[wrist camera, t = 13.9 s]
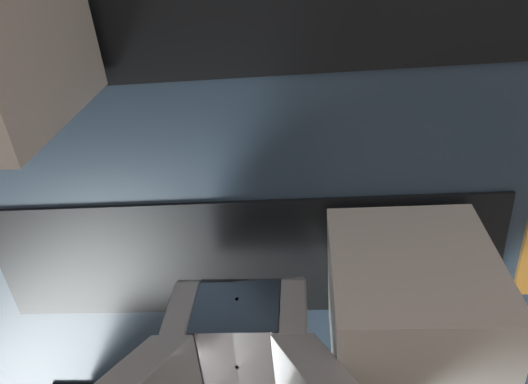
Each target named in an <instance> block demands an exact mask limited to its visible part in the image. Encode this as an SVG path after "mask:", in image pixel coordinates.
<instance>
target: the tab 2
mask: <svg viewBox="0 0 528 384" xmlns="http://www.w3.org/2000/svg"><path fill="white" fill-rule="evenodd" d="M327 247H328V297H329V323H330V338H331V353H332V354H333V355H334V356H335V357H336V358H337V360H338V361H339V362H340V363H341V364H342V365H343V366H344V367H345V368H346V369H347V371H348V372H349V373H350V374H351V375H352V376H353V377H354V378H355V380H356V381H357V382H358V383H359V384H525V382H526V378H527V374H528V305H527V303H526V301H525V300H524V298H523V296H522V294H521V292H520V291H519V289H518V287H517V285H516V283H515V282H514V280H513V278H512V276H511V274H510V273H509V271H508V269H507V267H506V265H505V263H504V262H503V260H502V258H501V256H500V254H499V253H498V251H497V249H496V247H495V245H494V244H493V242H492V240H491V238H490V236H489V235H488V233H487V231H486V229H485V227H484V225H483V224H482V222H481V220H480V218H479V216H478V215H477V213H476V211H475V209H474V207H473V206H472V204H453V205H423V206H392V207H362V208H332V209H327Z"/></svg>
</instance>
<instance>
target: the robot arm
mask: <svg viewBox="0 0 528 384" xmlns="http://www.w3.org/2000/svg"><path fill="white" fill-rule="evenodd" d="M94 384H359V383H358V382H357V381H356V380H355V378H354V377H353V376H352V375H351V374H350V373H349V372H348V371H347V369H346V368H345V367H344V366H343V365H342V364H341V363H340V362H339V361H338V360H337V358H336V357H335V356H334V355H333V354H332V353H331V351H330V350H329V349H328V348H327V347H326V346H325V345H324V344H323V342H322V341H321V340H320V339H319V338H318V337H317V336H316V335H315V333H308V312H307V291H306V278H305V277H284V278H271V279H201V280H178V281H177V282H176V283H175V285H174V288H173V291H172V294H171V297H170V300H169V304H168V307H167V310H166V313H165V316H164V319H163V322H162V325H161V328H160V331H159V335H151V336H150V337H149V338H148V339H146V340H145V341H144V342H143V343H142V344H140V345H139V346H138V347H137V348H136V349H134V350H133V351H132V352H131V353H130V354H128V355H127V356H126V357H125V358H124V359H122V360H121V361H120V362H119V363H118V364H116V365H115V366H114V367H113V368H112V369H110V370H109V371H108V372H107V373H106V374H104V375H103V376H102V377H101V378H100V379H98V380H97V381H96V382H95V383H94Z"/></svg>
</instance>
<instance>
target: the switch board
mask: <svg viewBox="0 0 528 384" xmlns="http://www.w3.org/2000/svg"><path fill="white" fill-rule="evenodd" d="M88 3H89V8H90V12H91V16H92V20H93V24H94V28H95V32H96V37H97V41H98V45H99V49H100V53H101V57H102V61H103V65H104V70H105V74H106V78H107V82H108V84H107V85H106V86H105V87H104V88H103V89H102V90H101V91H100V92H99V93H98V94H97V95H96V96H95V97H94V98H93V99H92V100H91V101H90V102H89V103H88V104H87V105H86V106H85V107H84V108H83V109H82V110H81V111H80V112H79V113H78V114H77V115H76V116H75V117H74V118H73V119H72V120H70V121H69V122H68V123H67V124H66V125H65V126H64V127H63V128H62V129H61V130H60V131H59V132H58V133H57V134H56V135H55V136H54V137H53V138H52V139H51V140H50V141H49V142H48V143H47V144H46V145H45V146H44V147H43V148H42V149H41V150H40V151H39V152H38V153H37V154H36V155H35V156H34V157H33V158H32V159H31V160H30V161H29V162H28V163H27V164H26V165H24V166H23V167H22V168H21V169H10V170H0V384H94V383H95V382H96V381H97V380H98V379H100V378H101V377H102V376H103V375H104V374H106V373H107V372H108V371H109V370H110V369H112V368H113V367H114V366H115V365H116V364H118V363H119V362H120V361H121V360H122V359H124V358H125V357H126V356H127V355H128V354H130V353H131V352H132V351H133V350H134V349H136V348H137V347H138V346H139V345H140V344H142V343H143V342H144V341H145V340H146V339H148V338H149V337H150V336H151V335H159V331H160V328H161V325H162V322H163V319H164V316H165V313H166V310H167V307H168V304H169V300H170V297H171V294H172V291H173V288H174V285H175V283H176V282H177V281H178V280H201V279H271V278H284V277H305V278H306V291H307V312H308V333H315V335H316V336H317V337H318V338H319V339H320V340H321V341H322V342H323V344H324V345H325V346H326V347H327V348H328V349H329V350H330V351H331V338H330V323H329V297H328V247H327V209H332V208H362V207H392V206H423V205H453V204H472V206H473V207H474V209H475V211H476V213H477V215H478V216H479V218H480V220H481V222H482V224H483V225H484V227H485V229H486V231H487V233H488V235H489V236H490V238H491V240H492V242H493V244H494V245H495V247H496V249H497V251H498V253H499V254H500V256H501V258H502V260H503V262H504V263H505V265H506V267H507V269H508V271H509V273H510V274H511V276H512V278H513V280H514V282H515V283H516V285H517V287H518V289H519V291H520V292H521V294H522V296H523V298H524V300H525V301H526V303H527V305H528V0H88ZM525 384H528V374H527V378H526V382H525Z"/></svg>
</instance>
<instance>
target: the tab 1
mask: <svg viewBox="0 0 528 384" xmlns="http://www.w3.org/2000/svg"><path fill="white" fill-rule="evenodd" d="M107 84H108V82H107V78H106V74H105V70H104V65H103V61H102V57H101V53H100V49H99V45H98V41H97V37H96V32H95V28H94V24H93V20H92V16H91V12H90V8H89V3H88V0H0V170H10V169H21V168H22V167H23V166H24V165H26V164H27V163H28V162H29V161H30V160H31V159H32V158H33V157H34V156H35V155H36V154H37V153H38V152H39V151H40V150H41V149H42V148H43V147H44V146H45V145H46V144H47V143H48V142H49V141H50V140H51V139H52V138H53V137H54V136H55V135H56V134H57V133H58V132H59V131H60V130H61V129H62V128H63V127H64V126H65V125H66V124H67V123H68V122H69V121H70V120H72V119H73V118H74V117H75V116H76V115H77V114H78V113H79V112H80V111H81V110H82V109H83V108H84V107H85V106H86V105H87V104H88V103H89V102H90V101H91V100H92V99H93V98H94V97H95V96H96V95H97V94H98V93H99V92H100V91H101V90H102V89H103V88H104V87H105V86H106V85H107Z"/></svg>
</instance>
